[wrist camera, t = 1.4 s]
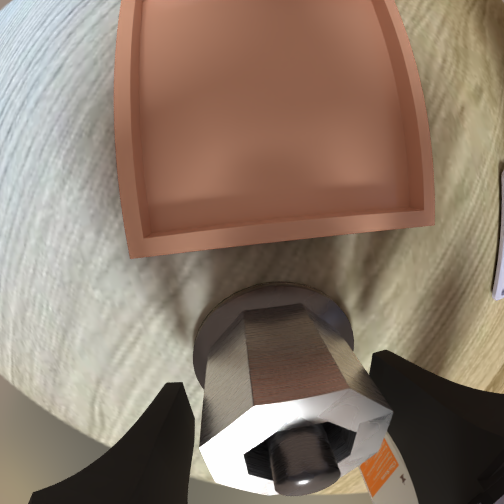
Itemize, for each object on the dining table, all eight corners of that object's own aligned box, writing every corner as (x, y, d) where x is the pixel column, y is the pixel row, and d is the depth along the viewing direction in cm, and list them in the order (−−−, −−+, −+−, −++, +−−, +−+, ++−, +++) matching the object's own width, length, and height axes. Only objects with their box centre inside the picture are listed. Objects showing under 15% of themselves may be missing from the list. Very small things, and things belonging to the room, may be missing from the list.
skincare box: (377, 418, 13) (455, 560, 2) (427, 401, 14) (511, 515, 2) (354, 465, 15) (401, 581, 3) (399, 451, 15) (454, 551, 4)
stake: (353, 271, 11) (458, 356, 4) (343, 395, 12) (391, 490, 6) (179, 292, 10) (129, 417, 4) (209, 415, 12) (206, 525, 6)
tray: (374, -1, 8) (387, -14, 6) (413, 219, 10) (434, 225, 9) (133, 2, 7) (124, -15, 6) (143, 248, 10) (130, 259, 8)
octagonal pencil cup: (339, 296, 10) (406, 371, 6) (333, 394, 12) (369, 471, 7) (201, 315, 10) (183, 410, 5) (223, 411, 11) (223, 498, 7)
